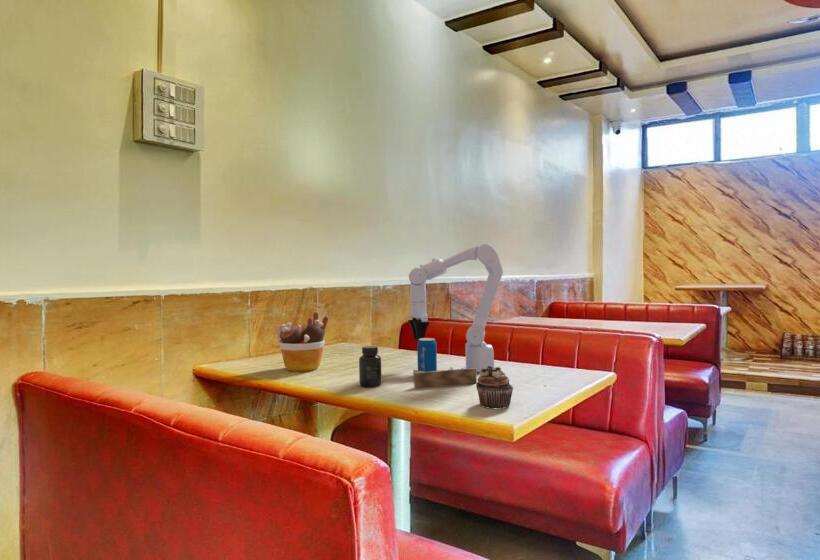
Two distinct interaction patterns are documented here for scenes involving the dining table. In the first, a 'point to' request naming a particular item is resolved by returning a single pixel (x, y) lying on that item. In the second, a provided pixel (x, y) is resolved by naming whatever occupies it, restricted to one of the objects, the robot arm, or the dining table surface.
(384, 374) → the dining table surface
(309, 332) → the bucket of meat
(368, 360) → the supplement bottle
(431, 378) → the caddy
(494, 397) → the cupcake
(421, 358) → the beverage can
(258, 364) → the dining table surface
